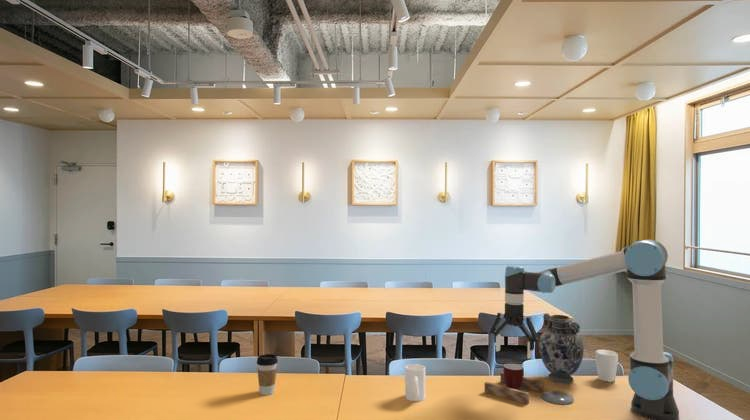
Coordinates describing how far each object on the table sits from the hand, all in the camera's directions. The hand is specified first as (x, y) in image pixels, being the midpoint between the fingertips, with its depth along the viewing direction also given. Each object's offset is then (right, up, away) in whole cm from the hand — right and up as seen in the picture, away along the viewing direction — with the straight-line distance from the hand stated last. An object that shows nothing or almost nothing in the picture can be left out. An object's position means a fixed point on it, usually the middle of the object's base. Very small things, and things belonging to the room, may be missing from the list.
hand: (513, 354), depth 187 cm
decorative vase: (+26, -16, +15) cm, 34 cm away
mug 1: (-42, -15, -8) cm, 45 cm away
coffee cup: (-102, -15, -3) cm, 103 cm away
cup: (+46, -16, +15) cm, 51 cm away
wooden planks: (0, -16, 0) cm, 16 cm away
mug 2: (0, -16, 0) cm, 16 cm away
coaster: (+16, -16, -7) cm, 23 cm away
